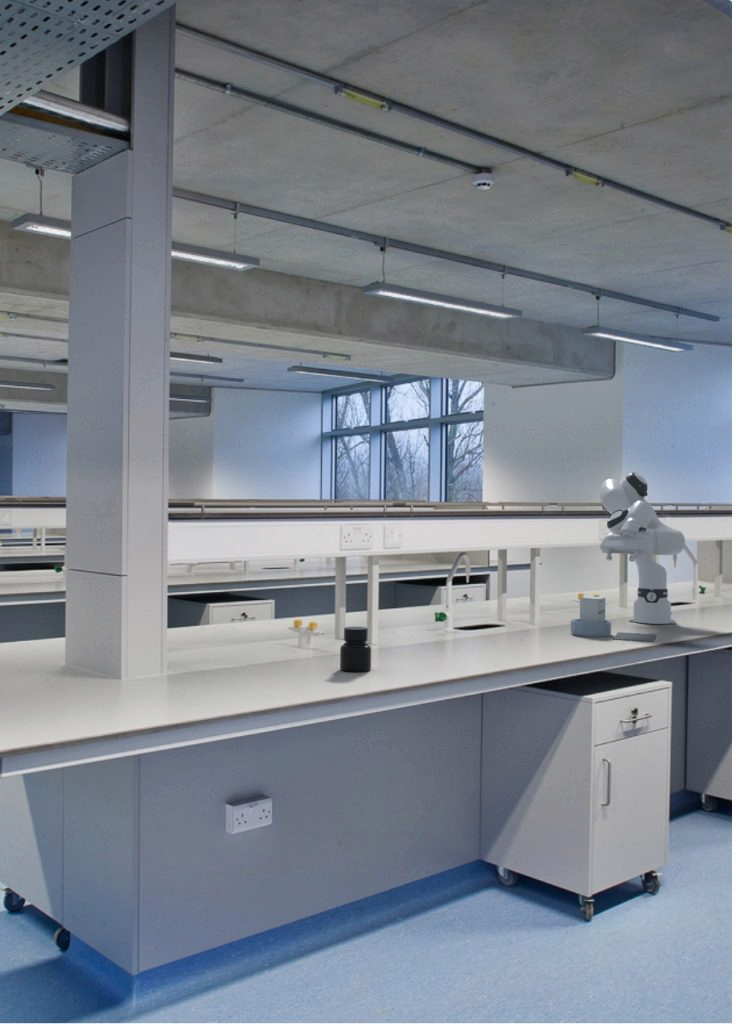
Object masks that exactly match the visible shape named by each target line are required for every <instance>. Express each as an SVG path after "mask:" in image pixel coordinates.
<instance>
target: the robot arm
mask: <svg viewBox="0 0 736 1024" xmlns="http://www.w3.org/2000/svg"><path fill="white" fill-rule="evenodd" d="M648 489H649V488H648V483H647V481H646V480H645V478H644V476H642V475H641V474H640V473H637V472H634V471H633V472H629V473H628V474H626V475H625V477H624V478H622V479H621V480H620V481H619V480H618V479H617V478H608V479H606V480H604V481H603V482H602V484H601V486H600V491H599V496H600V501H601V503H602V504H601V506H602V508H603V510H604V511H605V512H606V511H607V512H609V513H610V514H611V515H609V517H608V519H607V525H606V527H607V528H608V530H609V531H610V532H611V533H609V534H606V535H605V537H604V538H603V540H602V541H601V542H600V545H599V549H600V550H601V552H602V554H606V560H607V561H612V559H613V557H612V555H613V554H619V555H620V554H621V555H622V554H623V555H629V557H628V560H629V562H634V563H635V564H636V567H637V573H638V587H637V598H636V599H635V600H634V601H633V612H632V614H633V616H632V617H629V618H628V621H629V622H634V623H635V622H636V623H640V624H649V625H651V624H653V625H654V624H655V625H658V624H659V625H665V624H666V625H667V624H677V620H676V619H674V618H672V614H673V613H672V603H671V601H669V600H668V595H669V591H668V588H667V586H668V585H667V570H666V568H665V567H664V566H663V565H661V564H660V563H657V562H655V560H653V556H673V555H677V554H681V553H682V552H683V550H684V549H685V548H686V547H685V546H686V538H685V535H684V534H683V532H682V531H680V530H679V529H676V528H675V529H674V528H672V527H670V526H668V525H666V524H665V523H663V522H662V521H661V520H660V519H659V517H658V515H657V512H656V511H655V509H654V508H653V506H652V505H651V503H649V502H648V501H647V500H646V499H645V497H647V496H648V495H649V494H648ZM607 512H606V513H607Z"/></svg>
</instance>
